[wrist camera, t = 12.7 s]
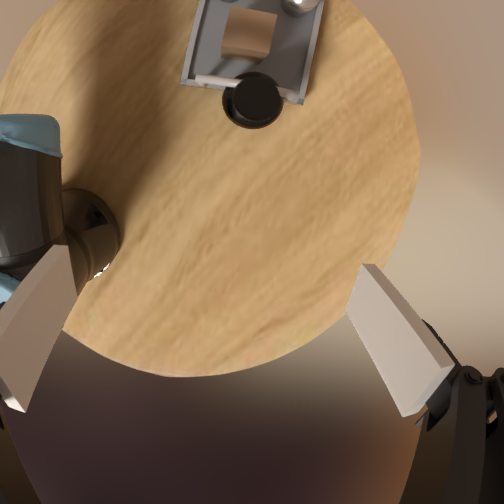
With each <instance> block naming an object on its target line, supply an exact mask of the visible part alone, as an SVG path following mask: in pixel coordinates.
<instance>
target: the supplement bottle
mask: <svg viewBox="0 0 504 504" xmlns="http://www.w3.org/2000/svg"><path fill="white" fill-rule="evenodd" d="M234 79H241V80H242V81H241V82H240V83H238V84H237V85H236V87H235V88H234V87H228V86H226V88H225V90H224V92H223V96H222V105H223V109H224V111H225V113H226V115H227V117H228V118H229V119H230V120H231V121H232V122H233V123H234V124H236V125H238V126H240V127H243V128H246V129H260V128H264V127H266V126H268V125H270V124H272V123H273V122H274V121H275V120H276V119H277V118H278V117H279V115H280V113H281V111H282V109H283V104H284V97H281V96H280V95H279V91H278V88H277V87H280V86H279V85H278V83H277V82H276V81H275V80H274V79H273V78H271V77H270V76H268V75H266V74H264V73H260V72H246V73H242V74H240V75H238V76H236V77H235V78H234ZM276 86H277V87H276Z"/></svg>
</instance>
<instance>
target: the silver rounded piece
mask: <svg viewBox="0 0 504 504" xmlns="http://www.w3.org/2000/svg"><path fill="white" fill-rule="evenodd" d="M320 1H321V0H282V1H281V7H282V9H283V10H284V12H285V13H287V14H288V15H290V16H292V17H303V16H305V15H307V14H308V13H309V12H310V11H311V10H312V9H313V8H314V7H315V6H316V5H317V4H319V2H320Z"/></svg>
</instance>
